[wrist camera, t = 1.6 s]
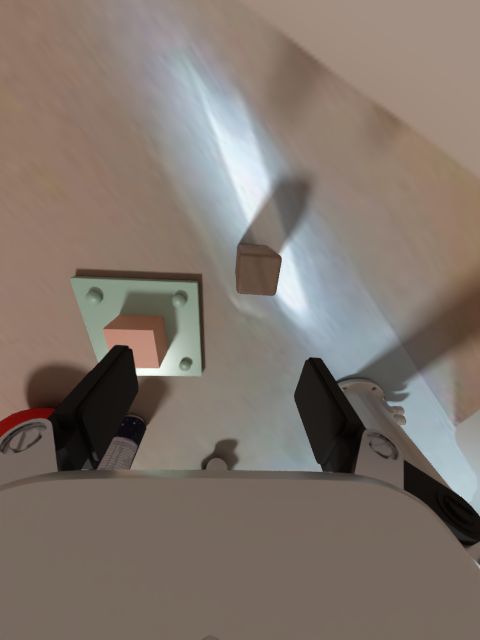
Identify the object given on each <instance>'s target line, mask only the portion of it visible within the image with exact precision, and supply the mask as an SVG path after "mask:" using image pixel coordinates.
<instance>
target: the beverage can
mask: <svg viewBox="0 0 480 640" xmlns="http://www.w3.org/2000/svg"><path fill="white" fill-rule="evenodd" d="M145 431H146V425H145V423H144V421H143V419H142V418H140V417H139V416H136V415H127V416H125V417H124V419H123V421H122V423H121V425H120V427H119V429H118V431H117V433H116V434H115V436H114V438H113V440H112V442H111V444H110V446H109V448H108V450H107V452H106V453H105V455H104V457H103V459H102V460H100V461H97V463H96V465H95V467H94V469H89V470H130V468H131V465H132V463H133V460H134V458H135V455H136V453H137V450H138V448H139V445H140V443H141V441H142V438H143V436H144V433H145Z"/></svg>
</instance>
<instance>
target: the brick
mask: <svg viewBox="0 0 480 640" xmlns="http://www.w3.org/2000/svg"><path fill="white" fill-rule="evenodd" d="M102 330H103V333H104V336H105V340H106V343H107V346H108V350H109V351H110V350H111V349H112V347H113V346H114V345H127V346H129V348H130V349H132V350H133V356H134V362H135V368H160V366H161V364H162V362H163V360H164V358H165V356H166V354H167V352H168V349H167V341H166V334H165V327H164V319H163V316H140V315H118V316H117V317H116V318H115V319H114V320H112V321H111V322H110V323H109V324H108V325H107V326H105V327H104V328H103V329H102Z"/></svg>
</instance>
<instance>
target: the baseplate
mask: <svg viewBox="0 0 480 640" xmlns="http://www.w3.org/2000/svg"><path fill="white" fill-rule="evenodd" d="M70 281H71V284H72V287H73V290H74V293H75V296H76V299H77V302H78V305H79V308H80V311H81V313H82V316H83V319H84V322H85V325H86V328H87V331H88V334H89V337H90V340H91V343H92V346H93V349H94V352H95V354H96V357H97V360H98V363H99V362H100V361H101V360H102V359H103V357H104V356H105V355H106V354H107V353H108V352H109V350H108V346H107V343H106V340H105V336H104V333H103V330H102V329H103V328H104V327H105V326H107V325H108V324H109V323H110V322H111V321H112V320H114V319H115V318H116V317H117V316H118V315H140V316H163V319H164V327H165V334H166V341H167V349H168V352H167V354H166V356H165V358H164V360H163V362H162V364H161V366H160V368H136V374H137V375H146V376H202V351H201V328H200V305H199V283H198V281H190V280H165V279H140V278H115V277H90V276H73V277H71V278H70Z"/></svg>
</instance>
